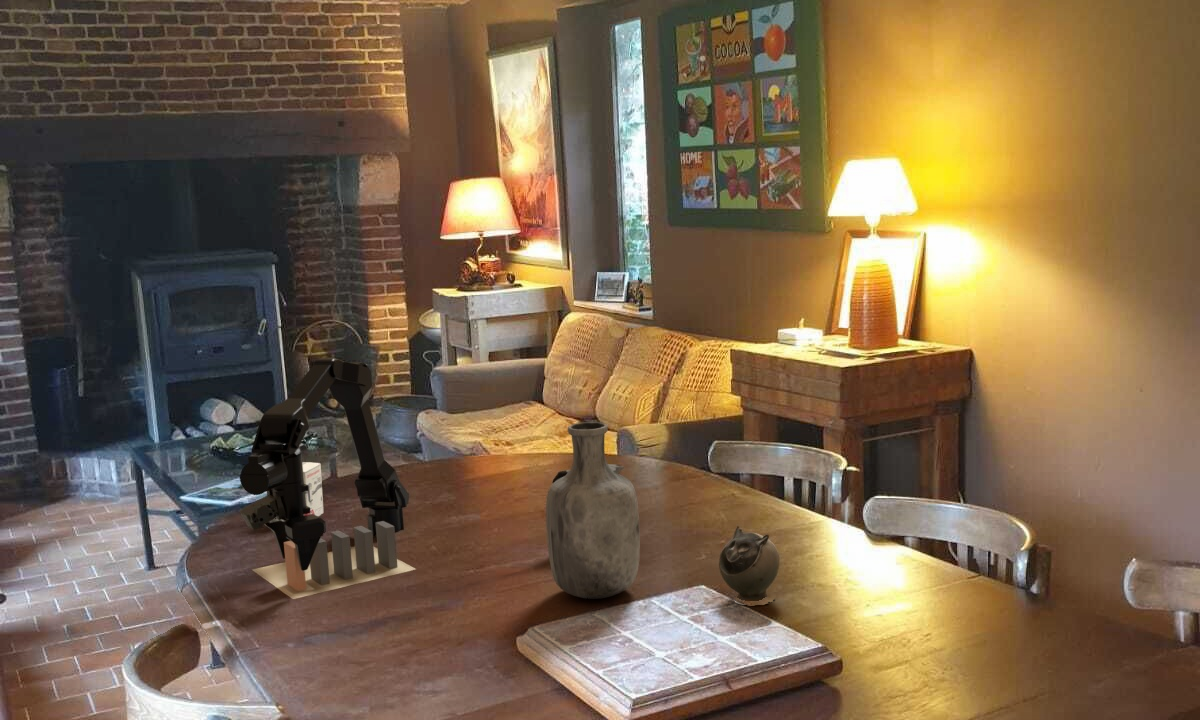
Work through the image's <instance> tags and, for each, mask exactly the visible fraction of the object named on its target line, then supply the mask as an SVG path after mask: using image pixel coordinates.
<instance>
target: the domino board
mask: <svg viewBox="0 0 1200 720" xmlns="http://www.w3.org/2000/svg"><path fill="white" fill-rule="evenodd" d="M350 548H351V560H352V572H353V578H351V579H347V580H344V579H342V578H341V577H339V576H338V575H336V574H334V564H333V552H332V551H329V552H328V551H327V555H328V567H329V578H330V584H326V585H320V584H318V583H317V582H315V581H314V580H312V579H311V569H310V564H309V567H308V569H307V570H305V580H306V589H305V590H301V591H297V590H295V589H294V588H292V587H291V586H289V585H288V584H287V573H286V562H285V561H284V562H280V563H275V564H271V565H266V566H263V567H262V566H261V567H258V568H253V569H251V571H252V572H253V573H255V574H257V575H258V576H259V577H261V578H263V579H264V580H265V581H267V582H268V583H270V584H271V585H272V586H273V587H275V588H276V589H278V590H279V591H281V592H282V593H283V594H285V595H286V596H288V597H289V598H291V599H292V600H296V599H300V598H305V597H309V596H312V595H313V596H314V595H317V594H321V593H326V592H329V591H334V590H338V589H341V588H344V587H349V586H350V587H351V586H353V585H357V584H362V583H367V582H370V581H374V580H378V579H382V578H386V577H391V576H395V575H401V574H403V573H408V572H411V571H415V570H417V568H415V567H413V566H411V565H410V564H408V563H405V562H404V561H402V560H400V559H398V558H397V566H398V567H397V568H393V569H388V568H387V567H385V566H383V565H381V564H379V561H378V548H377V547H375V546H374V545H373V548H374V560H375V572H376V573H372V574H368V575H367V574H366V573H364V572H362V571H361V570H359V569H357V565H356V553H355V546H350Z"/></svg>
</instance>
